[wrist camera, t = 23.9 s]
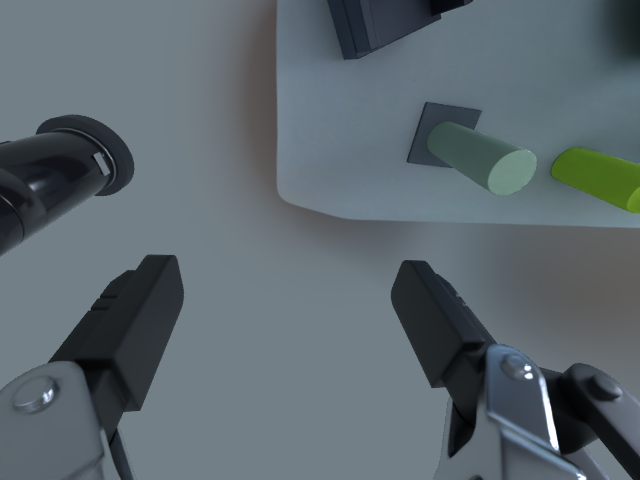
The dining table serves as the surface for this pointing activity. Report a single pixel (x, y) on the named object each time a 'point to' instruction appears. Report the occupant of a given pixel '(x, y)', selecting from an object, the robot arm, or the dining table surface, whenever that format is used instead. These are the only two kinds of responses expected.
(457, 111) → the coaster
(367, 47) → the navy chair block
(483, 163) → the green cylinder
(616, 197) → the soap dispenser
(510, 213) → the dining table surface
